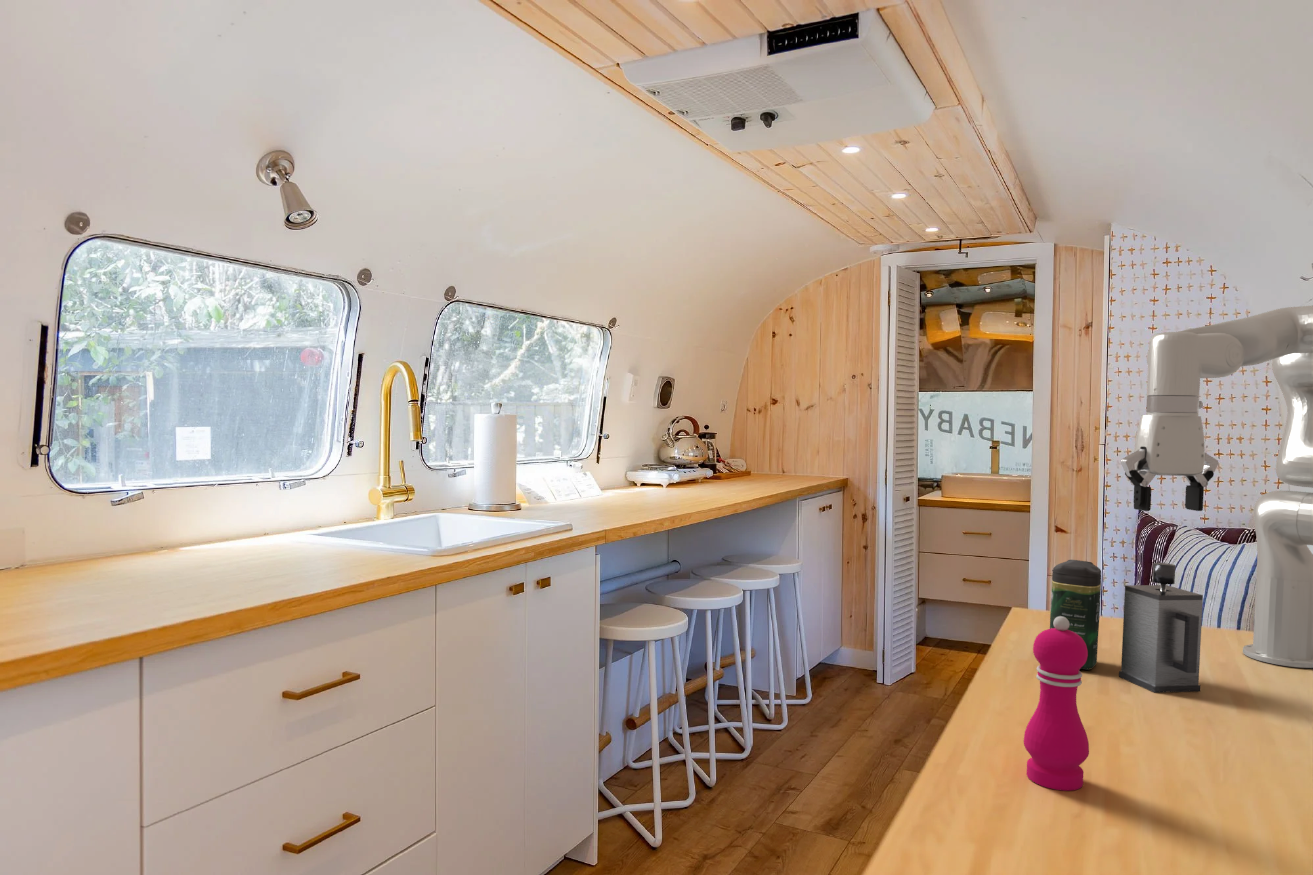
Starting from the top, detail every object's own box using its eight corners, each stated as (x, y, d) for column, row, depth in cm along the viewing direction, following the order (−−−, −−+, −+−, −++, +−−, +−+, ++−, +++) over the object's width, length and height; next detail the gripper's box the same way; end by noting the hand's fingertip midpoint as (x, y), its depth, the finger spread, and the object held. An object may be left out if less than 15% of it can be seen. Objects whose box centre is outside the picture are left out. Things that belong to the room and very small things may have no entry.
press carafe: (1162, 675, 152) (1166, 584, 151) (1213, 696, 141) (1218, 599, 140) (1118, 676, 150) (1123, 585, 150) (1167, 698, 139) (1171, 599, 139)
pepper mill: (1032, 762, 112) (1039, 606, 111) (1094, 779, 107) (1101, 616, 106) (1014, 780, 106) (1021, 616, 105) (1078, 798, 101) (1086, 627, 101)
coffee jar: (1094, 674, 151) (1098, 567, 151) (1044, 666, 156) (1048, 562, 155) (1100, 661, 160) (1104, 560, 159) (1052, 654, 164) (1057, 555, 163)
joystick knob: (1163, 640, 150) (1166, 561, 150) (1188, 649, 144) (1192, 567, 144) (1133, 641, 149) (1137, 561, 149) (1157, 650, 144) (1161, 567, 143)
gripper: (1200, 408, 151) (1196, 507, 151) (1109, 406, 148) (1106, 507, 148) (1236, 408, 143) (1231, 512, 144) (1141, 406, 140) (1137, 513, 141)
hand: (1168, 510), depth 146 cm, fingers open, 9 cm apart
